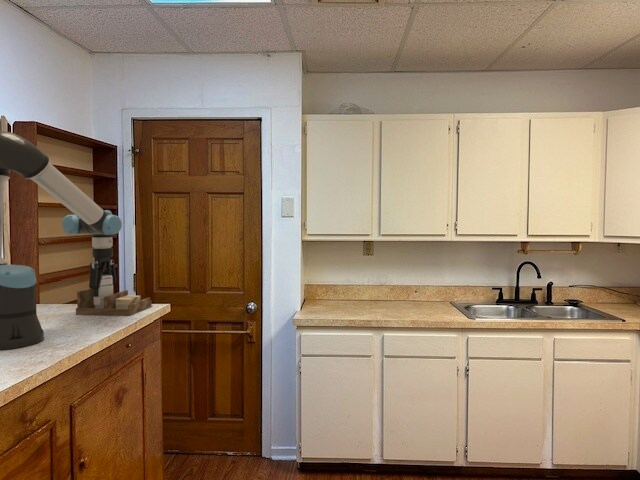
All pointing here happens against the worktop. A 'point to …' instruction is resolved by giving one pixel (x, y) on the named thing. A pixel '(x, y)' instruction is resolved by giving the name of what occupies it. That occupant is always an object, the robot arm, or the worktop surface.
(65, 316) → the worktop surface
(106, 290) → the syrup box
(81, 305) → the walnut rack
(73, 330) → the worktop surface
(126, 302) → the birch offcut
